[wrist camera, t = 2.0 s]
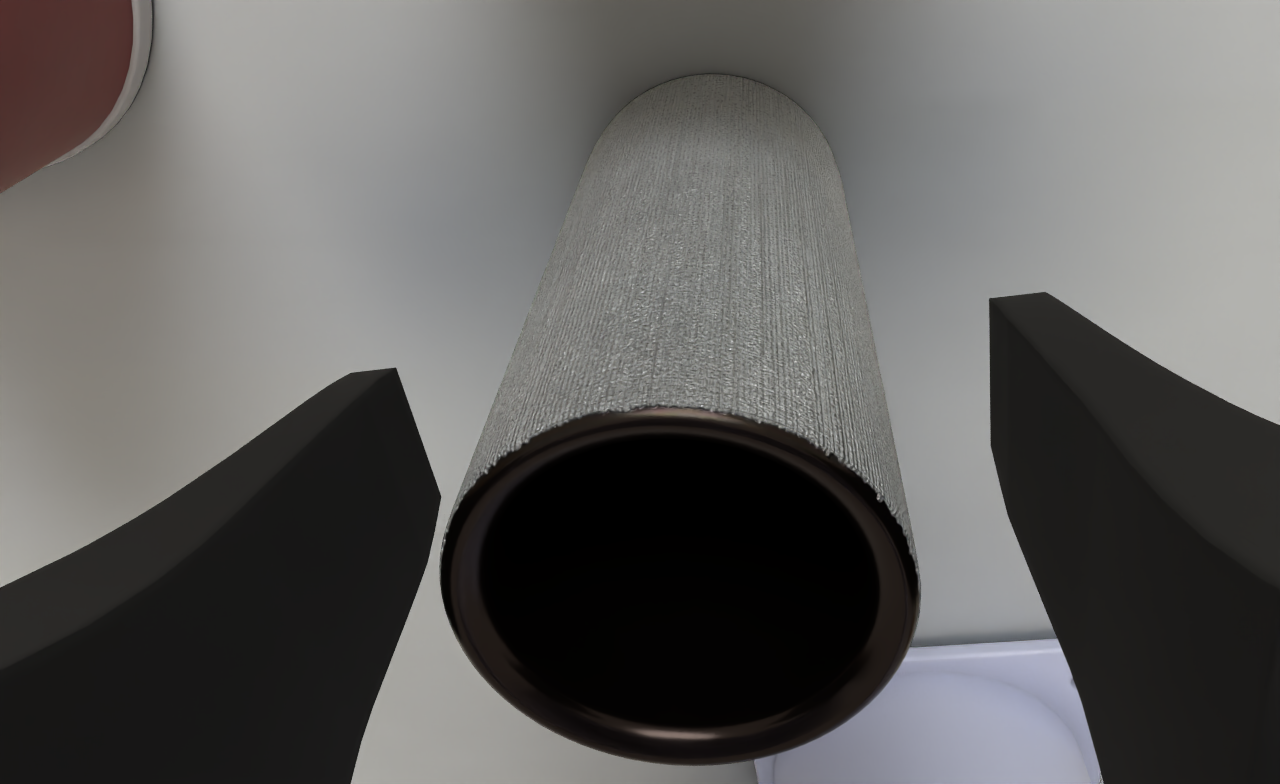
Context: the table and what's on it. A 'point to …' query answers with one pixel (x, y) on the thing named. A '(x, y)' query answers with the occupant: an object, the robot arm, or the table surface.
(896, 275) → the table surface
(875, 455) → the planter
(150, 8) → the tall can
